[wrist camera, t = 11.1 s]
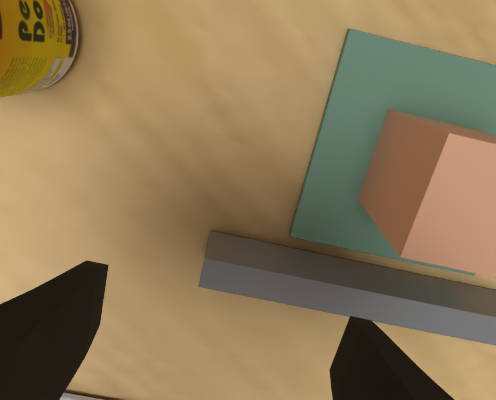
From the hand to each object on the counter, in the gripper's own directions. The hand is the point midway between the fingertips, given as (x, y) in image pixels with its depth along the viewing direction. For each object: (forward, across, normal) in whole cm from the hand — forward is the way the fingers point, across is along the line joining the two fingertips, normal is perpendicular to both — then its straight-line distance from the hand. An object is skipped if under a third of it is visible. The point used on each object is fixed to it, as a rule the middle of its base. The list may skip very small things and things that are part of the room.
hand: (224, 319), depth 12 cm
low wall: (+9, -8, +2) cm, 13 cm away
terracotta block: (+9, -8, -4) cm, 13 cm away
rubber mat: (+9, -8, -4) cm, 13 cm away
